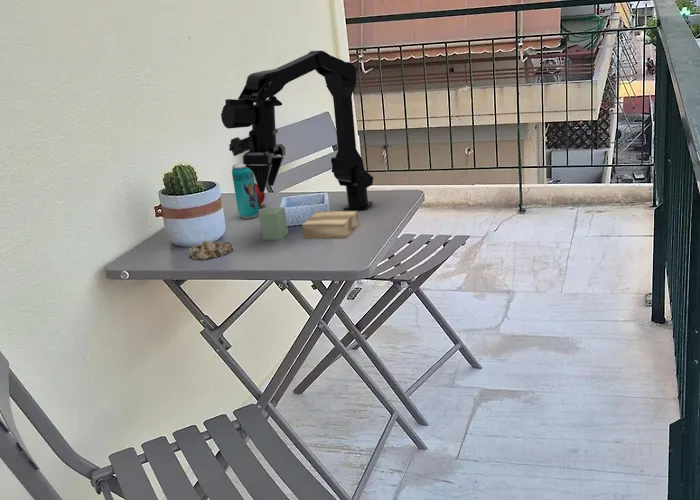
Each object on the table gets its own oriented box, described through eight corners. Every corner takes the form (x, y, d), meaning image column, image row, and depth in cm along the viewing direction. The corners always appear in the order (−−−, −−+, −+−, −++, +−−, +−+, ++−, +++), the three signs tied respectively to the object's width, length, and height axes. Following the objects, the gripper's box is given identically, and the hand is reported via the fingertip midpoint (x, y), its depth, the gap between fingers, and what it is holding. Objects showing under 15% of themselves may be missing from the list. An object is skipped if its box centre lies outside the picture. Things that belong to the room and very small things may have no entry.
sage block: (270, 233, 196) (266, 207, 194) (288, 233, 194) (284, 207, 192) (262, 239, 192) (258, 213, 189) (280, 239, 190) (276, 213, 188)
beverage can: (249, 220, 209) (241, 168, 204) (235, 218, 213) (226, 166, 208) (263, 214, 214) (255, 162, 209) (249, 212, 217) (241, 161, 212)
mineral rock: (187, 255, 179) (187, 237, 186) (190, 270, 182) (189, 252, 188) (233, 249, 181) (230, 232, 187) (235, 264, 183) (233, 246, 190)
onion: (249, 205, 225) (245, 179, 222) (268, 204, 224) (264, 177, 221) (244, 210, 220) (240, 184, 217) (263, 209, 219) (259, 183, 216)
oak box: (319, 225, 199) (317, 211, 197) (358, 225, 195) (357, 210, 194) (304, 239, 189) (302, 224, 188) (345, 239, 185) (343, 224, 184)
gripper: (242, 122, 195) (245, 182, 198) (220, 129, 177) (224, 195, 181) (284, 122, 193) (287, 182, 197) (266, 129, 175) (269, 195, 179)
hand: (266, 188), depth 188 cm, fingers open, 9 cm apart
